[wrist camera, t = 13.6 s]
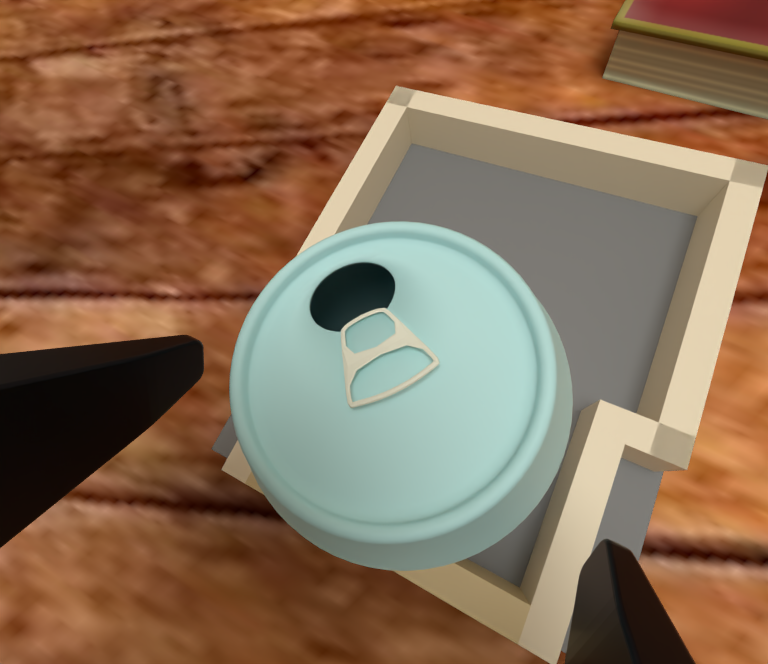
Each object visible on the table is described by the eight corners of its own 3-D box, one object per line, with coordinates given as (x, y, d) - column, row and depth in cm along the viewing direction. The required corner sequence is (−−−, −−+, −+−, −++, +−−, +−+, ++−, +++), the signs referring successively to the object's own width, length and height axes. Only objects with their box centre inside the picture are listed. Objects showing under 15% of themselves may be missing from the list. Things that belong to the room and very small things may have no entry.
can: (321, 470, 18) (118, 450, 7) (393, 334, 20) (315, 151, 9) (468, 556, 16) (494, 712, 5) (534, 397, 18) (662, 262, 7)
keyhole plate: (596, 664, 15) (634, 713, 12) (222, 450, 21) (178, 444, 17) (725, 217, 20) (777, 167, 17) (399, 135, 26) (391, 85, 22)
